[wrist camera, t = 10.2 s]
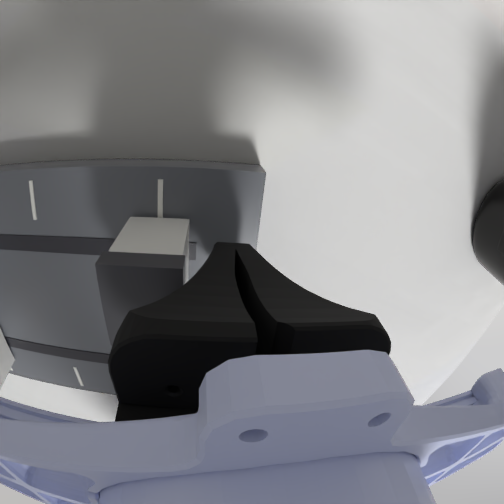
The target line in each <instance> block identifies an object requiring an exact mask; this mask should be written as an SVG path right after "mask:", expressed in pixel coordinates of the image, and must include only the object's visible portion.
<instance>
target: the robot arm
mask: <svg viewBox="0 0 504 504" xmlns="http://www.w3.org/2000/svg"><path fill="white" fill-rule="evenodd" d="M390 350H391V341H390V338H389V336H388V334H387V332H386V331H385V329H384V327H383V326H382V324H381V323H380V321H379V320H378V318H377V317H376V315H374V314H371V313H367V312H363V311H359V310H355V309H351V308H348V307H345V306H342V305H339V304H336V303H334V302H331V301H329V300H326V299H324V298H322V297H320V296H318V295H316V294H314V293H311V292H309V291H308V290H306V289H304V288H302V287H301V286H299V285H298V284H296V283H294V282H293V281H291V280H290V279H288V278H287V277H286V276H284V275H283V274H282V273H280V272H279V271H278V270H277V269H275V268H274V267H273V266H272V265H271V264H270V263H269V262H267V261H266V260H265V259H264V258H263V257H262V256H261V255H260V254H259V253H258V252H257V251H256V250H255V249H254V248H253V247H252V246H251V245H250V244H246V243H227V242H217V243H215V244H214V247H213V250H212V252H211V254H210V255H209V257H208V258H207V260H206V261H205V263H204V264H203V265H202V267H201V268H200V269H199V270H198V271H197V272H196V274H195V275H194V276H193V277H192V278H191V279H190V280H189V281H187V282H186V283H185V284H184V285H183V286H181V287H180V288H179V289H177V290H176V291H174V292H173V293H171V294H169V295H167V296H166V297H164V298H162V299H160V300H157V301H155V302H153V303H151V304H148V305H145V306H142V307H139V308H136V309H133V310H130V311H129V312H128V313H127V315H126V317H125V318H124V320H123V322H122V324H121V326H120V328H119V329H118V331H117V334H116V336H115V338H114V342H113V345H112V348H111V352H110V355H109V359H108V369H109V374H110V377H111V380H112V383H113V386H114V389H115V392H116V395H117V398H118V401H119V404H118V409H117V414H116V419H115V422H96V421H90V420H85V419H80V418H75V417H70V416H66V415H62V414H57V413H53V412H49V411H45V410H41V409H38V408H34V407H31V406H27V405H24V404H20V403H17V402H14V401H11V400H8V399H5V398H2V397H0V483H1V484H3V485H6V486H7V487H9V488H11V489H13V490H16V491H18V492H20V493H22V494H24V495H26V496H29V497H31V498H33V499H36V500H38V501H40V502H43V503H45V504H436V503H435V500H434V498H433V495H432V493H431V491H430V488H429V486H431V485H433V484H435V483H437V482H438V481H440V480H442V479H444V478H446V477H448V476H450V475H452V474H453V473H455V472H457V471H459V470H460V469H462V468H464V467H465V466H467V465H469V464H471V463H472V462H474V461H476V460H477V459H479V458H481V457H482V456H484V455H486V454H487V453H489V452H491V451H492V450H493V449H495V448H496V447H497V446H498V445H499V444H500V443H501V442H502V441H503V440H504V372H503V371H502V369H496V370H494V371H491V372H488V373H485V374H484V375H482V376H481V377H480V378H479V379H478V380H477V381H476V382H475V384H474V385H473V387H472V389H471V390H470V391H467V392H464V393H461V394H459V395H456V396H453V397H450V398H446V399H443V400H440V401H437V402H433V403H430V404H427V405H423V406H418V405H413V403H414V401H415V400H414V398H413V396H412V394H411V392H410V390H409V389H408V387H407V385H406V383H405V382H404V380H403V378H402V376H401V375H400V373H399V371H398V369H397V368H396V366H395V364H394V362H393V361H392V360H391V358H390V357H389V353H390Z"/></svg>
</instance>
